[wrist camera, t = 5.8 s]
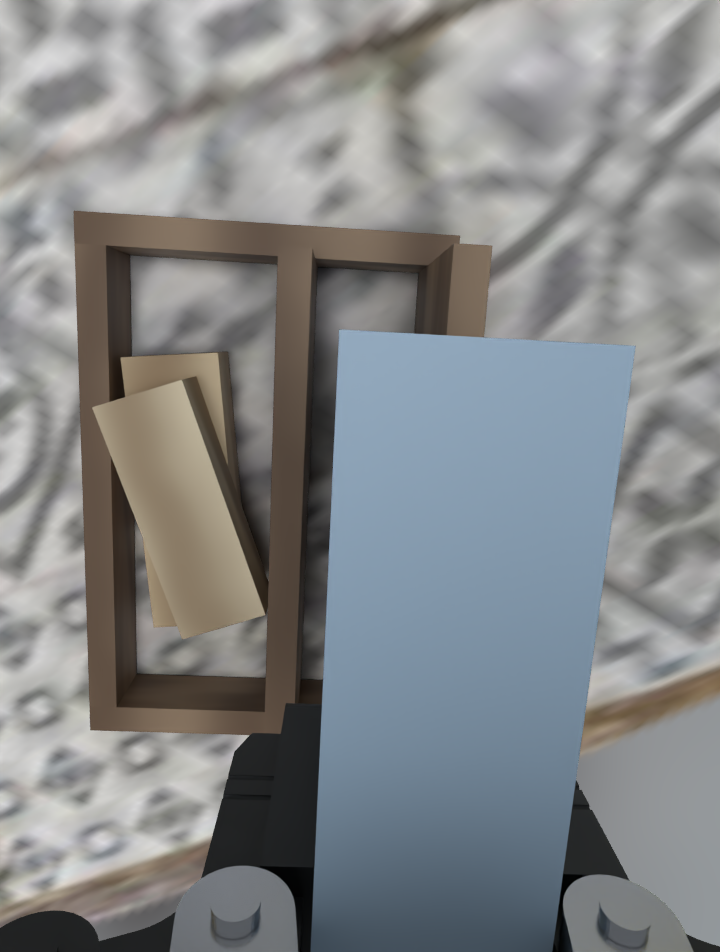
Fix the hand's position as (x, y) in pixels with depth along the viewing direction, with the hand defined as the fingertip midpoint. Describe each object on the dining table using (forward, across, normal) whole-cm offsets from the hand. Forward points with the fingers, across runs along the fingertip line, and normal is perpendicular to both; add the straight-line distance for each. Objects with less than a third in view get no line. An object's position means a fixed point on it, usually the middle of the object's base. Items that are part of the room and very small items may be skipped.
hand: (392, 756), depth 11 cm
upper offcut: (+18, +7, 0) cm, 19 cm away
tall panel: (+12, 0, 0) cm, 12 cm away
